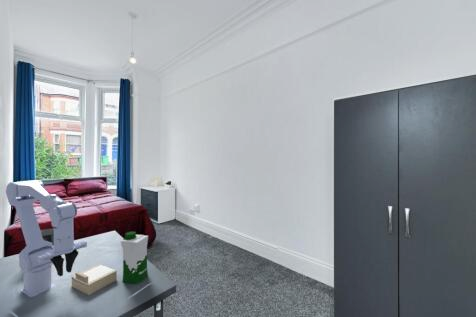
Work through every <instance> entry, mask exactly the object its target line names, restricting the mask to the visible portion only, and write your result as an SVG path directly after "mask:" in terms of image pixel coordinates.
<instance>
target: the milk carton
mask: <svg viewBox="0 0 476 317" xmlns="http://www.w3.org/2000/svg"><path fill="white" fill-rule="evenodd" d="M148 241H149V235H144V234H137V232H136V231H127V232H125V238H123V239H122V240H120V244H121V248H122V266H123V267H122V268H123V269H122V283H128V284H135V285H138V284H139V283H140V282H142V281H143V280H144V279H146V277H147V276H148V275H149V274H148V273H149V272H148Z"/></svg>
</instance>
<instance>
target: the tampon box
mask: <svg viewBox="0 0 476 317" xmlns="http://www.w3.org/2000/svg"><path fill="white" fill-rule="evenodd" d="M40 231H41V234H42V238H43V240H44V241H48V242H51V243H52V245H53V247H54V227H53V228H46V229H40ZM40 250H42V249H40ZM37 251H39V250H37ZM34 252H36V251H34ZM31 253H33V252H31ZM29 254H30V253H29Z"/></svg>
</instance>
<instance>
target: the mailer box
mask: <svg viewBox="0 0 476 317" xmlns="http://www.w3.org/2000/svg"><path fill="white" fill-rule="evenodd" d="M99 265H102V264H100V263H99V264H97V265H95V266H92V267H90V268H87V269H85V270H83V271H81V272H80V273H84V272H86V271H88V270H90V269H92V268H95V267H97V266H99ZM114 270H115V271H113V272H111V273H109V274H107V275H105V276H103V277H101V278H99V279H97V280H95V281H93V282H91V283H89V284H88V285H85V284H83V283H81V282H79V281H77V280H75V279H73V277H75V274H74V275H72V276H71V287H72V288H74V289H76V290H78V291H80V292H82V293H84V294H85V295H87V296H90V295H92V294H94V293H96V292H98V291H99V290H101V289H104V288H105V287H107V286H108V285H110V284H112V283H114V282H116V281H117V272H118V271H117V270H116V269H114Z"/></svg>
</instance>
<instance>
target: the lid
mask: <svg viewBox="0 0 476 317" xmlns="http://www.w3.org/2000/svg"><path fill="white" fill-rule="evenodd" d="M98 265H99V264H98ZM91 268H92V267H91ZM89 269H90V268H89ZM115 270H116V269H113V268H111V267H108V266H105V265H103V264H101V265H99V266H97V267H95V268H92V269H90V270H88V271H86V272H84V273H81V272H80V271H76V272H75V274H74V275H75V277H73V279H75V280H77V281H79V282H81V283H83V284H85V285H88V284H89V283H91V282H93V281H95V280H97V279H99V278H101V277H103V276H105V275H107V274H109V273H111V272H113V271H115Z"/></svg>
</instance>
